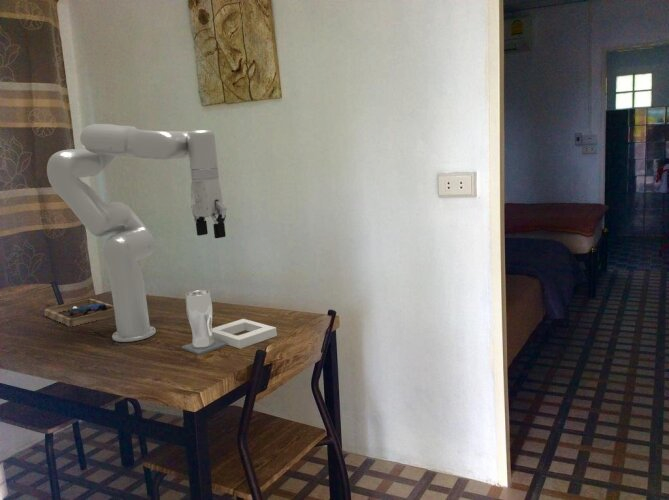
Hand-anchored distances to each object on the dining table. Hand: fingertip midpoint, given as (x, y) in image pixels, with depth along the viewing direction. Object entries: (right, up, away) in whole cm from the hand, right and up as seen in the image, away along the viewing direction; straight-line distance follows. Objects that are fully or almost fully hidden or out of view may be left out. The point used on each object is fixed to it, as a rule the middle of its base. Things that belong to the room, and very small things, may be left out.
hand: (211, 236), depth 171 cm
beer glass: (-2, -31, -2) cm, 31 cm away
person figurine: (-50, -27, +41) cm, 71 cm away
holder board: (+8, -29, +5) cm, 31 cm away
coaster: (-2, -31, -2) cm, 31 cm away
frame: (-54, -27, +42) cm, 74 cm away
